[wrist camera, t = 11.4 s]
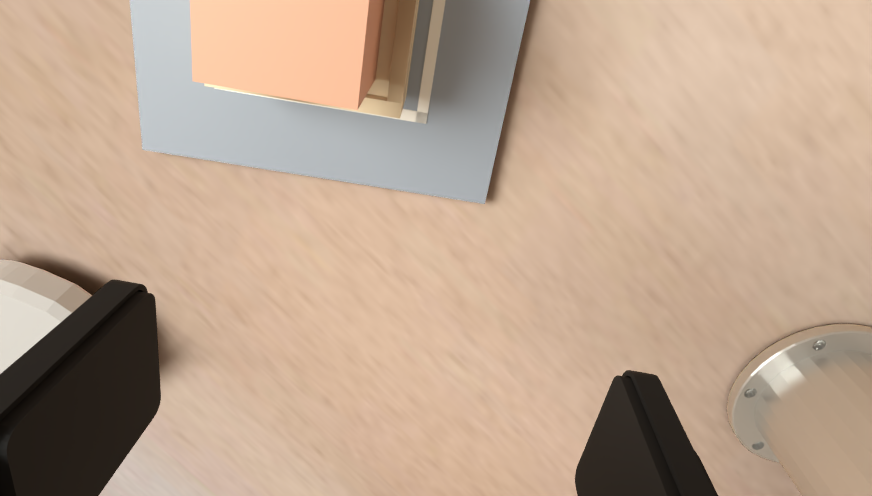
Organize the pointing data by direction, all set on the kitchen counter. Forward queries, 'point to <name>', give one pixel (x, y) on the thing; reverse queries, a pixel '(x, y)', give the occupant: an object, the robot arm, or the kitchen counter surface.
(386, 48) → the maple base
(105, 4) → the kitchen counter surface
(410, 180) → the board
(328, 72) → the terracotta cube
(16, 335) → the robot toy
